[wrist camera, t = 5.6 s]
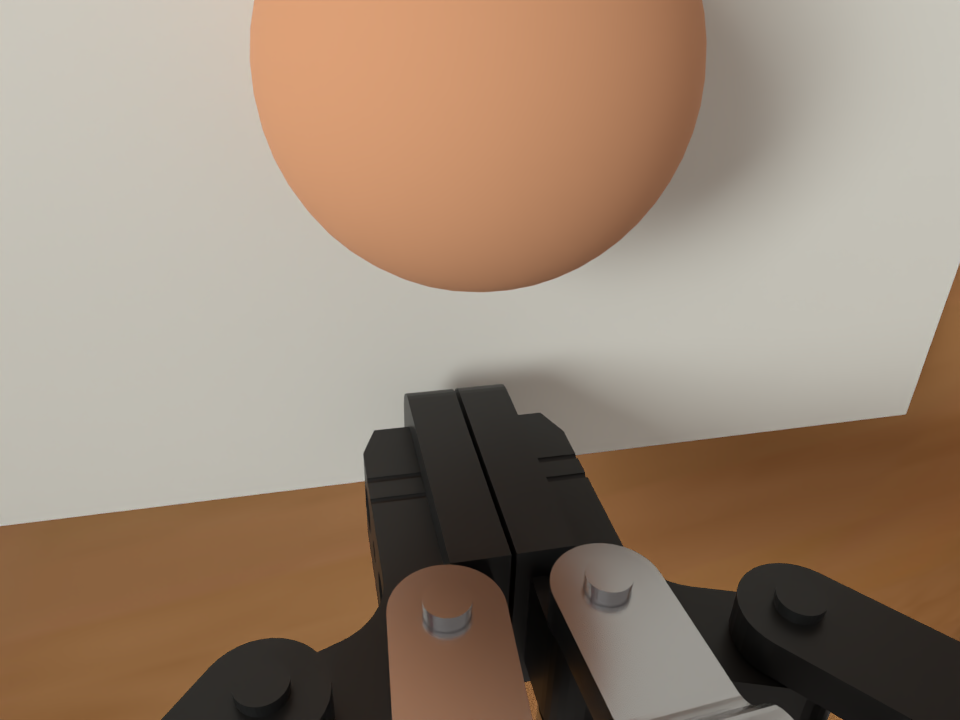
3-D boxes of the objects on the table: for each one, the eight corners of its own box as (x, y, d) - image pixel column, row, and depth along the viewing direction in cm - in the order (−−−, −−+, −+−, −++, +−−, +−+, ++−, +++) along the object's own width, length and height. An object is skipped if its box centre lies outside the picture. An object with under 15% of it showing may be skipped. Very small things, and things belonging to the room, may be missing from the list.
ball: (482, 259, 12) (578, 440, 8) (187, 90, 10) (136, 230, 6) (678, -22, 10) (907, 44, 7) (380, -285, 8) (467, -404, 5)
